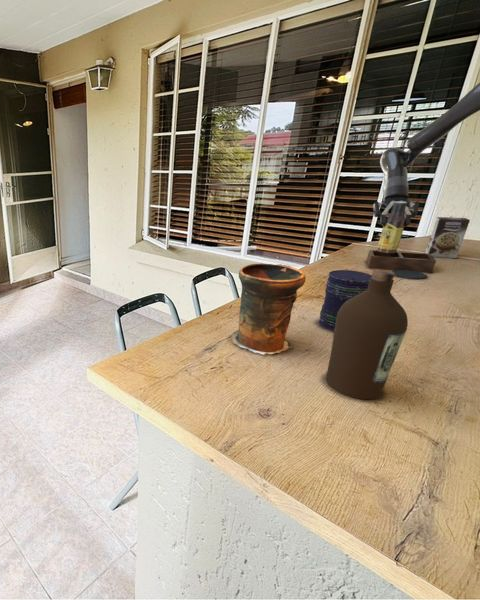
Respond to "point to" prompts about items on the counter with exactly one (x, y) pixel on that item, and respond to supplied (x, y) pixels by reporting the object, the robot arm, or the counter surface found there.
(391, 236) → the sauce bottle
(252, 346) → the vessel
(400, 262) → the tray
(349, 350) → the olive oil
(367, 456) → the counter surface
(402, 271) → the coaster
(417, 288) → the counter surface
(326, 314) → the storage jar
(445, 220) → the cookie box
